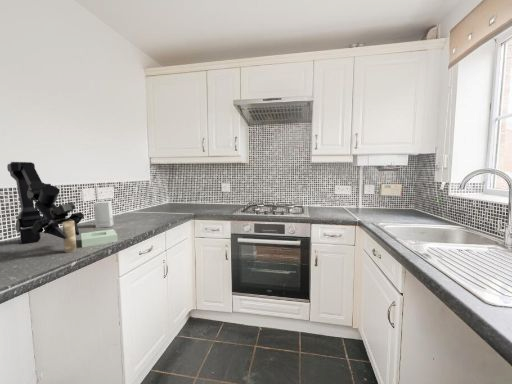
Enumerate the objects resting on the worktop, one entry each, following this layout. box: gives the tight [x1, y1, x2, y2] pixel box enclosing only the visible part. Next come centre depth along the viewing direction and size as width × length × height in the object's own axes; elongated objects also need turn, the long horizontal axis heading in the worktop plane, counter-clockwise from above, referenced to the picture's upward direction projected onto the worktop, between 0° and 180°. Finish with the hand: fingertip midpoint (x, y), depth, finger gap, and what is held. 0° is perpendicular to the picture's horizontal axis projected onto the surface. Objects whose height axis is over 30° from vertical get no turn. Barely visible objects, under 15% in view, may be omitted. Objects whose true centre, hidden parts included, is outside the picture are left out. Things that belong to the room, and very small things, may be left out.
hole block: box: [80, 228, 119, 248], centre depth 115 cm, size 14×14×4 cm
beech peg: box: [61, 221, 77, 254], centre depth 100 cm, size 4×4×13 cm
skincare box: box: [93, 200, 114, 229], centre depth 145 cm, size 8×7×16 cm
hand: (72, 236), depth 100 cm, fingers open, 5 cm apart
